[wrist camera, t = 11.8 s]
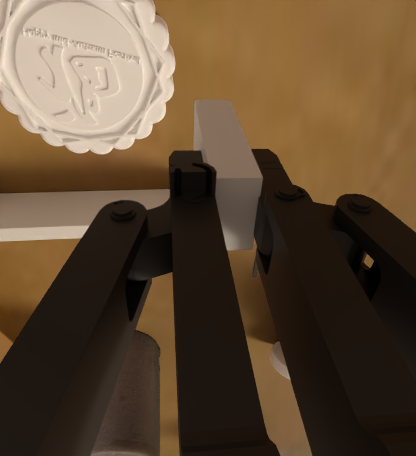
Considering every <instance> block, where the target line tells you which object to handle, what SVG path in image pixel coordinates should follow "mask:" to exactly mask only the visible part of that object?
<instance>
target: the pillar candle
mask: <svg viewBox="0 0 416 456" xmlns="http://www.w3.org/2000/svg"><path fill="white" fill-rule="evenodd" d="M159 357H160V348H159V346H158V344H157V342H156V341H155V340H154V339H153V338H151V337H150V336H148V335H146V334H144V333H142V332H139V331H134V334H133V337H132V340H131V343H130V346H129V348H128V351H127V354H126V357H125V360H124V362H123V365H122V368H121V371H120V374H119V376H118V379H117V382H116V385H115V388H114V390H113V393H112V396H111V399H110V402H109V405H108V407H107V410H106V413H105V416H104V419H103V421H102V424H101V427H100V430H99V433H98V435H97V438H96V441H95V444H94V447H93V449H92V452H91V455H90V456H160V374H159V373H160V366H159Z"/></svg>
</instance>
